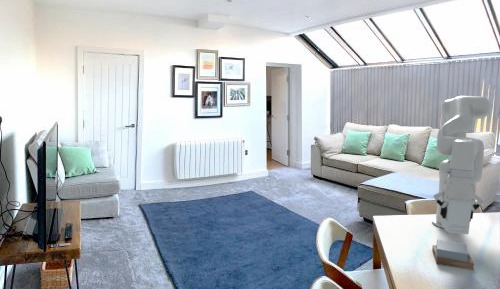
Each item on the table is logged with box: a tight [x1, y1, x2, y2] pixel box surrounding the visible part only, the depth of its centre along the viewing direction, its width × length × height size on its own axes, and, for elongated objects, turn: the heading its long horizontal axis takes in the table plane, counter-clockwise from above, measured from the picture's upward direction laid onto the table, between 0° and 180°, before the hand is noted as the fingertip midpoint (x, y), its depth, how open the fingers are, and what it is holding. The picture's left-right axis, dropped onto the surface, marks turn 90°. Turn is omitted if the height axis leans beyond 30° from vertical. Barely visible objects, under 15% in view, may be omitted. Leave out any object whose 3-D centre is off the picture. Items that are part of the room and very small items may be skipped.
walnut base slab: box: [431, 244, 475, 271], centre depth 140 cm, size 12×12×3 cm
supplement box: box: [442, 199, 472, 235], centre depth 137 cm, size 7×7×13 cm
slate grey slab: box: [436, 238, 469, 262], centre depth 139 cm, size 10×10×3 cm
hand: (455, 218), depth 137 cm, fingers closed on supplement box, 7 cm apart
